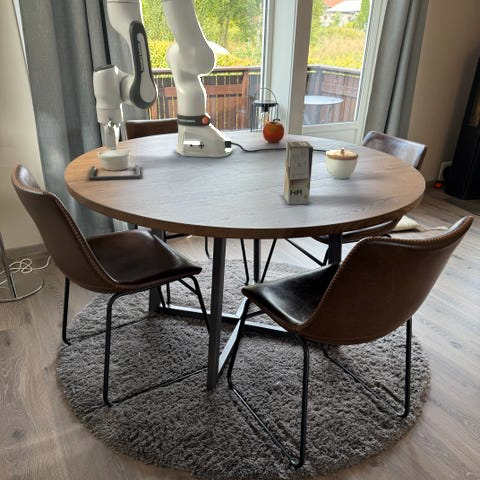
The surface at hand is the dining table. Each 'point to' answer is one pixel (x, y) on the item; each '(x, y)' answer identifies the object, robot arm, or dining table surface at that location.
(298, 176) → the coffee box
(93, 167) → the bay
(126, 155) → the ramekin
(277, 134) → the fruit
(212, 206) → the dining table surface
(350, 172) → the trinket box
